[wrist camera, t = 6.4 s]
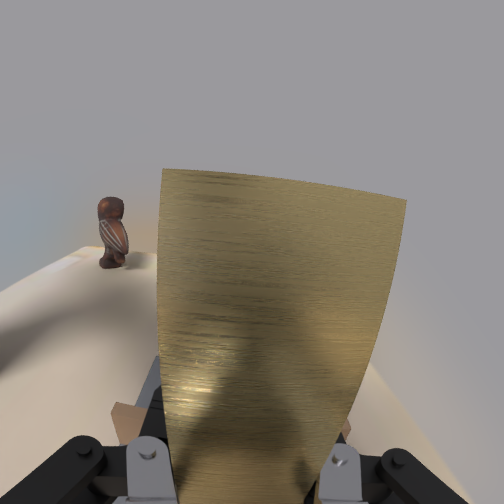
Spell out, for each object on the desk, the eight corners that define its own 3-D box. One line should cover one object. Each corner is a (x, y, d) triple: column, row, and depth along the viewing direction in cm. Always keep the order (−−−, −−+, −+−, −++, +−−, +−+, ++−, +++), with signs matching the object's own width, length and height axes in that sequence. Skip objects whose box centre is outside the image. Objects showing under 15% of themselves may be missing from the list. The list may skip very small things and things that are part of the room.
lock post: (265, 553, 8) (407, 200, 4) (192, 550, 8) (163, 168, 4) (261, 504, 12) (333, 192, 8) (196, 501, 12) (198, 176, 8)
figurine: (135, 271, 53) (136, 195, 51) (110, 274, 50) (110, 194, 47) (115, 261, 62) (116, 197, 60) (94, 263, 58) (95, 197, 56)
